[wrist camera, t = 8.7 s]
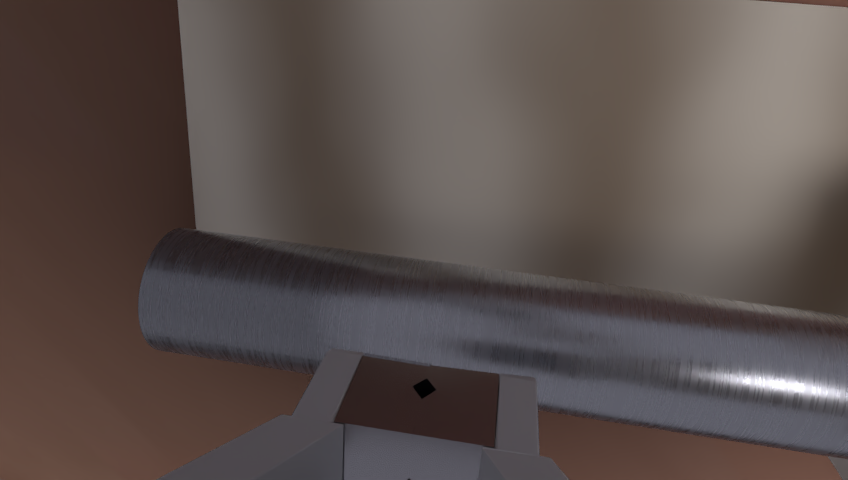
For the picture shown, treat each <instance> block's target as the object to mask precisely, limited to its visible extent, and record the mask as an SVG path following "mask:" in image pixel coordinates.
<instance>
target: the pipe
mask: <svg viewBox="0 0 848 480" xmlns="http://www.w3.org/2000/svg"><path fill="white" fill-rule="evenodd" d="M138 313H139V322H140V327H141V330H142V333H143V336H144V338H145V340H146V341H147V343H148V344H149V345H150V346H151V347H153V348H154V349H156V350H160V351H166V352H173V353H179V354H185V355H192V356H198V357H204V358H211V359H217V360H223V361H230V362H236V363H242V364H249V365H255V366H261V367H268V368H274V369H280V370H287V371H293V372H299V373H306V374H312V375H314V374H315V372H316V370H317V369H318V367H319V365H320V363H321V361H322V359H323V358H324V356H325V354H326V352H327V351H329V350H330V349H332V348H336V349H343V350H350V351H357V352H363V353H364V354H365V353H369V354H375V355H381V356H387V357H393V358H399V359H405V360H411V361H417V362H423V363H429V364H432V365H436V366H444V367H451V368H459V369H467V370H474V371H482V372H490V373H498V374H499V375H500V373H503V374H512V375H521V376H530V377H534V378H535V379H536V380H537V398H538V410H540V411H546V412H552V413H558V414H565V415H571V416H577V417H584V418H590V419H596V420H603V421H609V422H615V423H622V424H628V425H634V426H641V427H647V428H653V429H660V430H666V431H672V432H679V433H685V434H691V435H698V436H704V437H710V438H717V439H723V440H729V441H736V442H742V443H748V444H754V445H761V446H767V447H773V448H780V449H786V450H792V451H799V452H805V453H811V454H818V455H824V456H830V457H837V458H843V459H848V315H841V314H833V313H826V312H818V311H811V310H803V309H795V308H788V307H780V306H773V305H765V304H757V303H750V302H742V301H735V300H727V299H719V298H712V297H704V296H697V295H689V294H681V293H674V292H666V291H659V290H651V289H643V288H636V287H628V286H621V285H613V284H605V283H598V282H590V281H583V280H575V279H567V278H560V277H552V276H545V275H537V274H529V273H522V272H514V271H507V270H499V269H491V268H484V267H476V266H469V265H461V264H453V263H446V262H438V261H431V260H423V259H415V258H408V257H400V256H393V255H385V254H377V253H370V252H362V251H355V250H347V249H339V248H332V247H324V246H317V245H309V244H301V243H294V242H286V241H279V240H271V239H263V238H256V237H248V236H241V235H233V234H225V233H218V232H210V231H203V230H195V229H187V228H177V229H174V230H172V231H170V232H169V233H168V234H166V235H165V236H164V237H163V238H162V239H161V240H160V241H159V243H158V244H157V245H156V247H155V249H154V250H153V252H152V254H151V256H150V258H149V260H148V262H147V265H146V267H145V270H144V273H143V277H142V281H141V285H140V292H139V301H138Z"/></svg>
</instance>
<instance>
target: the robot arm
mask: <svg viewBox="0 0 848 480" xmlns="http://www.w3.org/2000/svg"><path fill="white" fill-rule="evenodd" d="M156 480H569V479H568V478H567V476H566V475H565V474H564V473H563V472H562V471H561V470H560V468H559V467H558V466H557V465H556V464H555V463H554V461H553V460H552V459H551V458H548V457H542V456H539V427H538V398H537V380H536V379H535V378H534V377H530V376H521V375H512V374H503V373H500V375H499V374H498V373H490V372H482V371H474V370H467V369H459V368H451V367H444V366H436V365H432V364H429V363H423V362H417V361H411V360H405V359H399V358H393V357H387V356H381V355H375V354H369V353H365V354H364V353H363V352H357V351H350V350H343V349H336V348H332V349H330V350H329V351H327V352H326V354H325V356H324V358H323V359H322V361H321V363H320V365H319V367H318V369H317V370H316V372H315V374H314V376H313V378H312V380H311V381H310V383H309V385H308V387H307V389H306V390H305V392H304V394H303V396H302V398H301V400H300V401H299V403H298V405H297V407H296V409H295V410H294V412H293V414H292V416H288V415H279V416H277V417H276V418H274V419H272V420H270V421H268V422H266V423H264V424H262V425H260V426H258V427H256V428H254V429H253V430H251V431H249V432H247V433H245V434H243V435H241V436H239V437H237V438H235V439H233V440H231V441H229V442H228V443H226V444H224V445H222V446H220V447H218V448H216V449H214V450H212V451H210V452H208V453H206V454H204V455H203V456H201V457H199V458H197V459H195V460H193V461H191V462H189V463H187V464H185V465H183V466H181V467H179V468H178V469H176V470H174V471H172V472H170V473H168V474H166V475H164V476H162V477H160V478H158V479H156Z"/></svg>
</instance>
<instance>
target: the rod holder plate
mask: <svg viewBox="0 0 848 480" xmlns="http://www.w3.org/2000/svg"><path fill="white" fill-rule="evenodd" d="M177 1H178V13H179V25H180V38H181V50H182V62H183V75H184V87H185V99H186V111H187V124H188V136H189V148H190V161H191V173H192V185H193V197H194V210H195V222H196V230H203V231H210V232H218V233H225V234H233V235H241V236H248V237H256V238H263V239H271V240H279V241H286V242H294V243H301V244H309V245H317V246H324V247H332V248H339V249H347V250H355V251H362V252H370V253H377V254H385V255H393V256H400V257H408V258H415V259H423V260H431V261H438V262H446V263H453V264H461V265H469V266H476V267H484V268H491V269H499V270H507V271H514V272H522V273H529V274H537V275H545V276H552V277H560V278H567V279H575V280H583V281H590V282H598V283H605V284H613V285H621V286H628V287H636V288H643V289H651V290H659V291H666V292H674V293H681V294H689V295H697V296H704V297H712V298H719V299H727V300H735V301H742V302H750V303H757V304H765V305H773V306H780V307H788V308H795V309H803V310H811V311H818V312H826V313H833V314H841V315H848V7H835V6H822V5H809V4H795V3H782V2H768V1H755V0H177Z"/></svg>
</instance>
